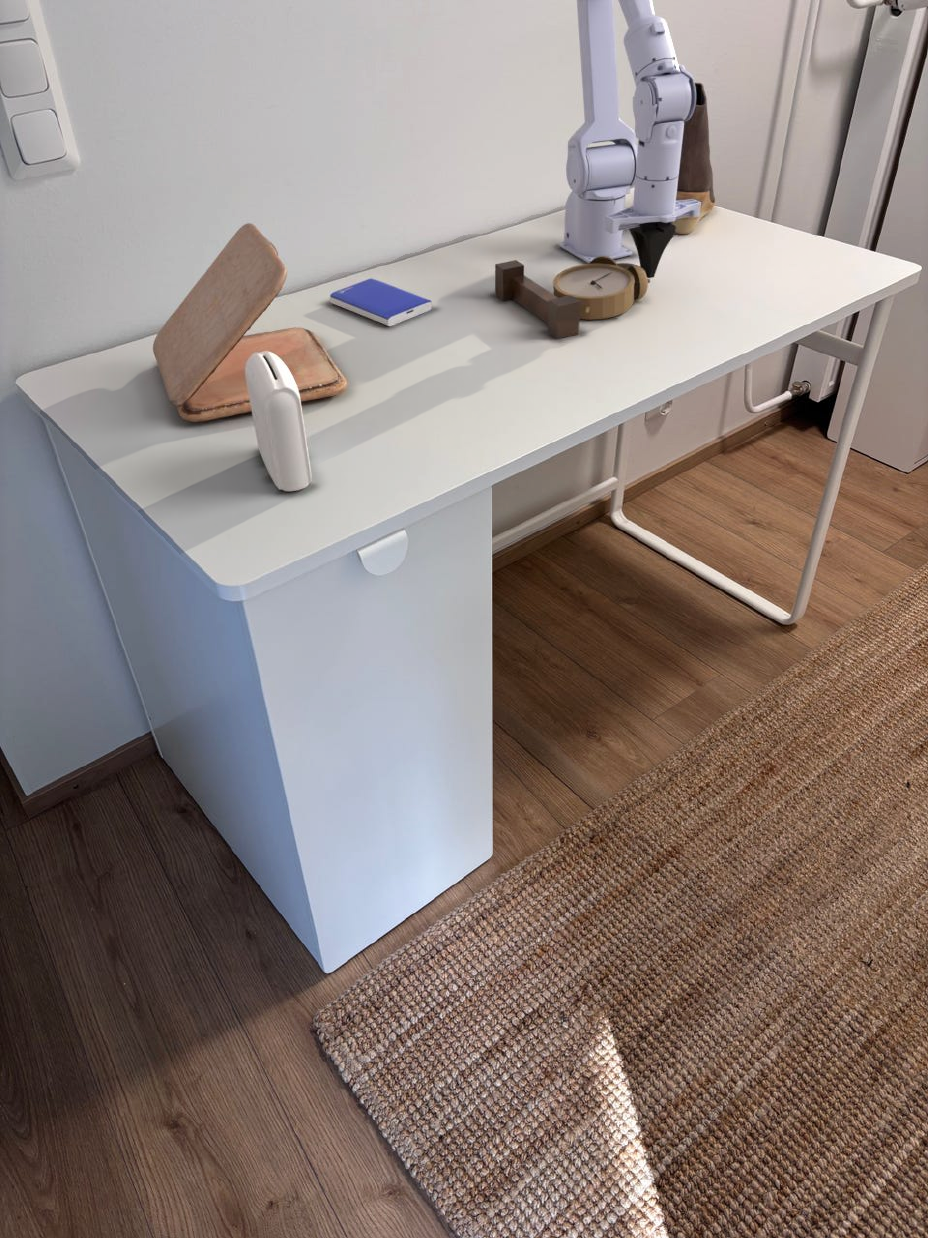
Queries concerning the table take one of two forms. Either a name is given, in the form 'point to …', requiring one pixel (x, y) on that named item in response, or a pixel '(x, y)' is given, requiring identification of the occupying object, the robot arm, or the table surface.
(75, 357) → the table surface
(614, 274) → the alarm clock
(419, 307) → the hard drive
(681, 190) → the boot
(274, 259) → the case
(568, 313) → the dumbbell
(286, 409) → the photo printer
